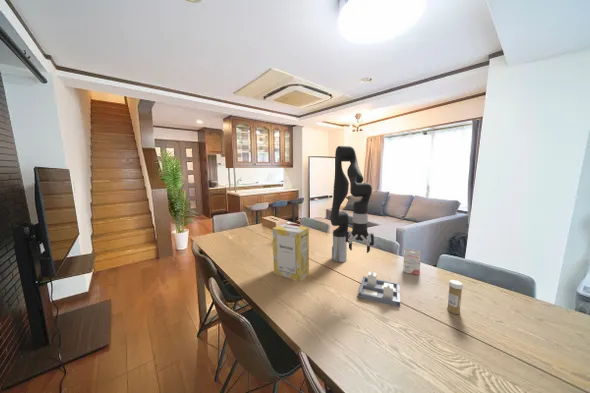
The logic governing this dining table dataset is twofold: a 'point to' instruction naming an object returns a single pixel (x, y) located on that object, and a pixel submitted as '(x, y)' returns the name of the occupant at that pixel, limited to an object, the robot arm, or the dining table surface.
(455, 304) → the sprinkles bottle
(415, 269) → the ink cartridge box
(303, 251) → the pasta box
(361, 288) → the switch bank
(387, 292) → the tab near
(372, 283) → the tab far
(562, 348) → the dining table surface
